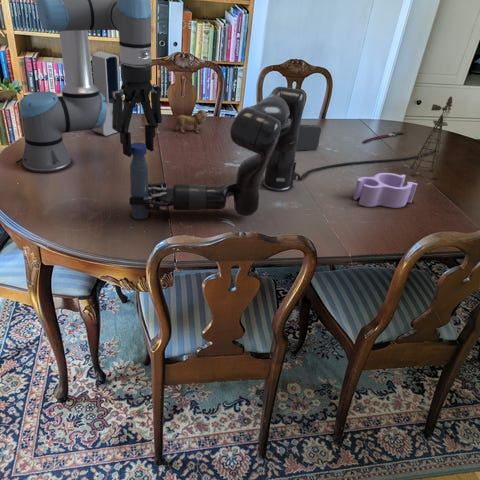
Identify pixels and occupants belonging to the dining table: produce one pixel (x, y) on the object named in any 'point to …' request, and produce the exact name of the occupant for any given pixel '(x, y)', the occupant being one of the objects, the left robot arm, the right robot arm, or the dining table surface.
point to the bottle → (139, 185)
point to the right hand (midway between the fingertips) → (130, 196)
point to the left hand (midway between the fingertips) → (138, 152)
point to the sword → (382, 136)
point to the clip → (384, 190)
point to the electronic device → (106, 85)
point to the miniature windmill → (439, 123)
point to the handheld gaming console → (308, 137)
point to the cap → (138, 149)
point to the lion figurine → (191, 120)
